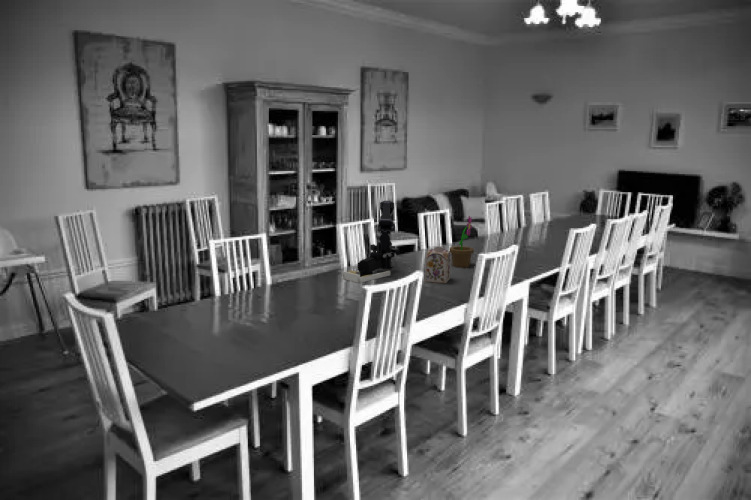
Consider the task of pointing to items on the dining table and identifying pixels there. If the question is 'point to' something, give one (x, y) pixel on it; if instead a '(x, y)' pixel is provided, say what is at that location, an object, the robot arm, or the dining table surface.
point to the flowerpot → (462, 250)
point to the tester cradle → (356, 277)
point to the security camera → (369, 266)
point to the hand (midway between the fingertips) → (384, 268)
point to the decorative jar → (438, 265)
